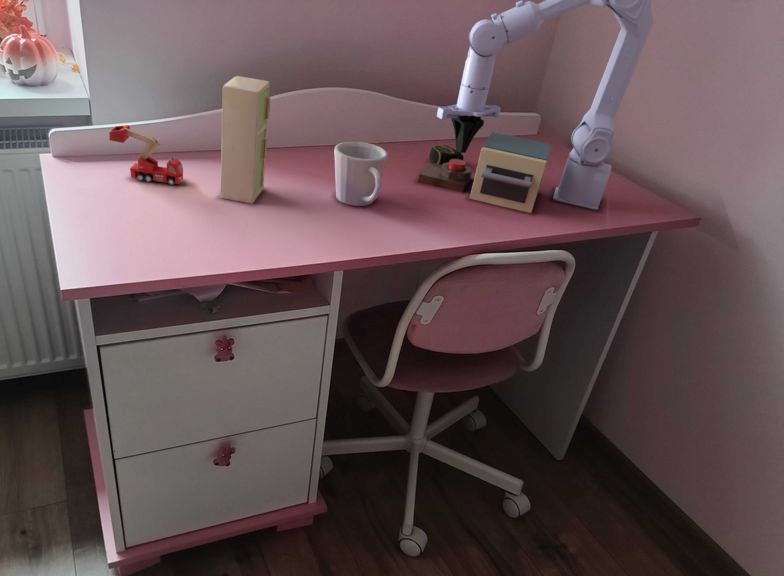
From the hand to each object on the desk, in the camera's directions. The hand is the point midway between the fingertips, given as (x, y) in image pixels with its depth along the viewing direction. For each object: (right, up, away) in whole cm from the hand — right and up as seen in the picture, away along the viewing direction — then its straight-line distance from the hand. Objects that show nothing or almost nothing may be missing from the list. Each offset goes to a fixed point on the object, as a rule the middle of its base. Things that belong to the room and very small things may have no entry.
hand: (460, 151), depth 144 cm
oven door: (+7, -13, -5) cm, 16 cm away
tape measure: (-1, +1, +14) cm, 14 cm away
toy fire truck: (-64, -9, -11) cm, 66 cm away
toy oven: (+10, -9, +1) cm, 13 cm away
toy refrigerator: (-45, -12, -12) cm, 48 cm away
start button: (0, -3, +2) cm, 4 cm away
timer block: (-3, -5, +5) cm, 8 cm away
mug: (-22, -14, -10) cm, 28 cm away
